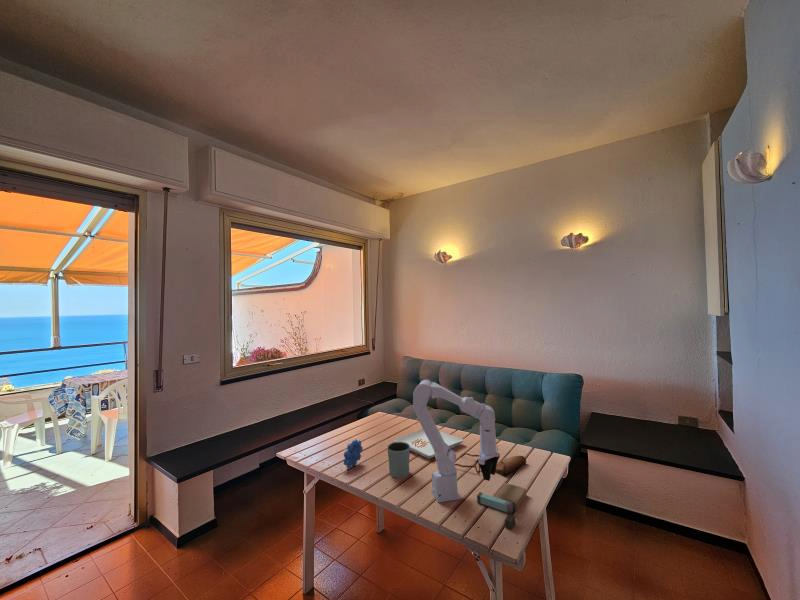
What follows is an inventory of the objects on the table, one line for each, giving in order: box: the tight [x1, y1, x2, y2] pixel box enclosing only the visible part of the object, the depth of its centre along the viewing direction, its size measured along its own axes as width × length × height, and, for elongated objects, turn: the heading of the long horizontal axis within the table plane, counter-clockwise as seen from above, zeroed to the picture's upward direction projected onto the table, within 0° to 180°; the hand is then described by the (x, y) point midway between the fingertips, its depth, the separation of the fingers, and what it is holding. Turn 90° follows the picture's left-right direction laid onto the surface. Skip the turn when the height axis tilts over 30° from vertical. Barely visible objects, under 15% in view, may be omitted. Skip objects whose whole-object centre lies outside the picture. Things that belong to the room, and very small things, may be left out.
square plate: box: [393, 428, 465, 459], centre depth 170 cm, size 27×27×4 cm
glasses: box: [455, 452, 481, 474], centre depth 147 cm, size 13×13×5 cm
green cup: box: [386, 441, 411, 479], centre depth 141 cm, size 10×10×12 cm
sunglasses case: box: [495, 455, 527, 478], centre depth 143 cm, size 18×7×7 cm, turn 131°
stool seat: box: [493, 482, 527, 531], centre depth 114 cm, size 10×23×3 cm, turn 143°
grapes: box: [343, 438, 363, 469], centre depth 149 cm, size 12×7×12 cm, turn 143°
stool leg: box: [476, 491, 514, 514], centre depth 114 cm, size 12×3×3 cm, turn 53°
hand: (489, 476), depth 119 cm, fingers open, 5 cm apart
